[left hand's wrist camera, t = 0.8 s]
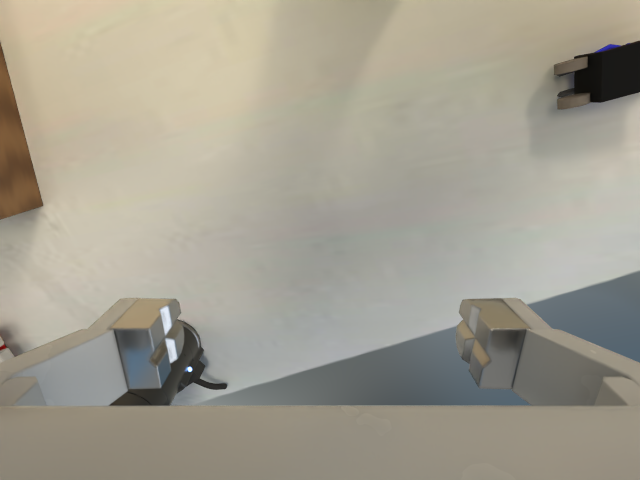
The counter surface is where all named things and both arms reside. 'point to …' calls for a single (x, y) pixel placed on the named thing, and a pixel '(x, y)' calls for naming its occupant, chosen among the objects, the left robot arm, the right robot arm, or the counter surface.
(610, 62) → the figurine character
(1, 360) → the toy
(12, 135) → the box
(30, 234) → the counter surface
